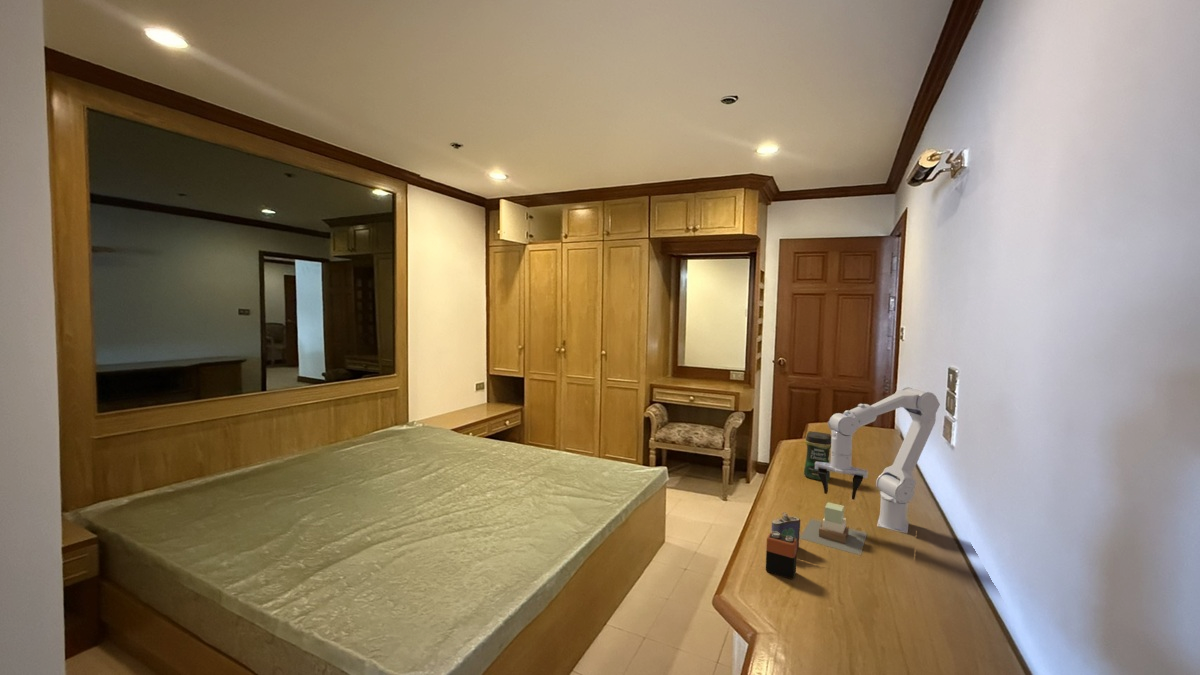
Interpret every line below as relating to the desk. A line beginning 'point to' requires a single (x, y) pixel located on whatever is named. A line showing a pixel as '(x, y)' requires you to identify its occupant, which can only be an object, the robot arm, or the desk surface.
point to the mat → (851, 545)
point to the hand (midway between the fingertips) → (839, 495)
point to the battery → (781, 555)
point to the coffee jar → (816, 452)
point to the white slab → (834, 526)
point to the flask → (787, 526)
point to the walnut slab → (834, 534)
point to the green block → (834, 513)
